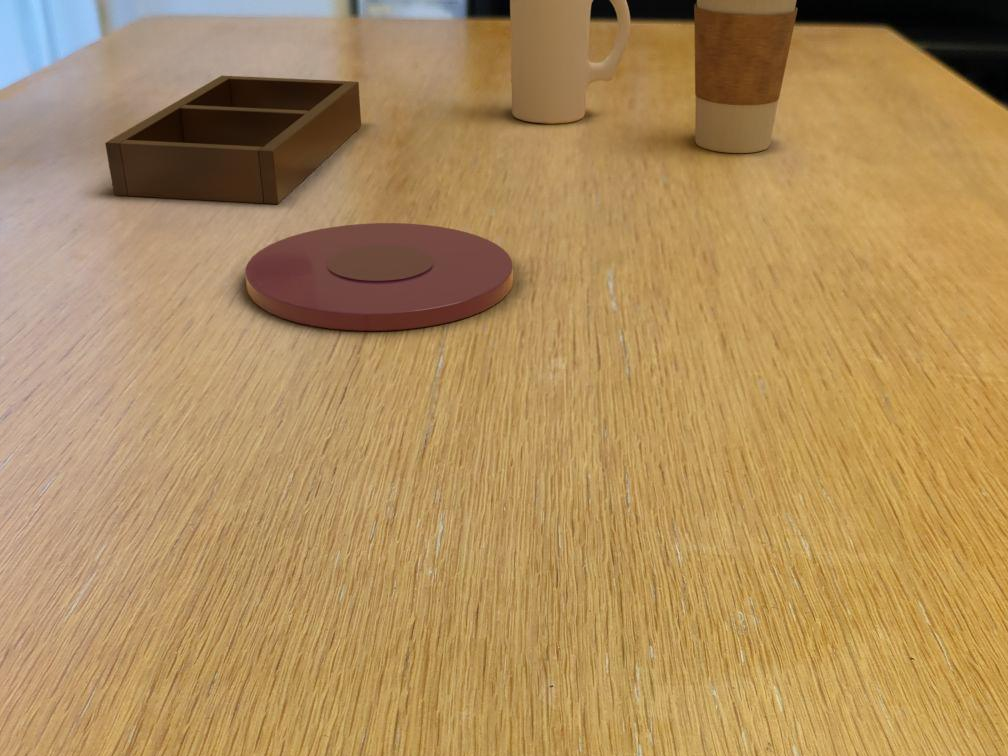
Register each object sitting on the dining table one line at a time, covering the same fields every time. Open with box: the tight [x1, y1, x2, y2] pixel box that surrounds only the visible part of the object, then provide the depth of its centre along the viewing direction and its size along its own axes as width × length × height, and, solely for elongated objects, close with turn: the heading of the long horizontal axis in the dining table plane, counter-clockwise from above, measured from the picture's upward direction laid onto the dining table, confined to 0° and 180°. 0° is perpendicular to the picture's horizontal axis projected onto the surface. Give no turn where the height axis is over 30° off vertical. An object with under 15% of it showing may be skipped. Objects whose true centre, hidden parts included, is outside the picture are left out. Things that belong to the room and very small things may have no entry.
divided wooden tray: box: [104, 75, 362, 205], centre depth 90 cm, size 12×22×4 cm, turn 173°
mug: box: [509, 0, 631, 125], centre depth 100 cm, size 10×7×12 cm, turn 95°
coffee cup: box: [693, 0, 798, 154], centre depth 92 cm, size 8×8×15 cm
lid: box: [244, 222, 514, 332], centre depth 69 cm, size 15×15×1 cm
